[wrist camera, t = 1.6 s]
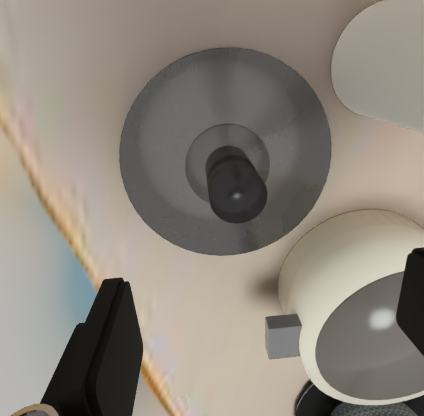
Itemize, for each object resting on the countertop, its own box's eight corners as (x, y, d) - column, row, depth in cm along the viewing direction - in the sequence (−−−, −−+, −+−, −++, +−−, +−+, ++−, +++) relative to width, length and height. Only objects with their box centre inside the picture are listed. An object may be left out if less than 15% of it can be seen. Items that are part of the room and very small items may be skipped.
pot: (251, 220, 25) (272, 273, 19) (472, 199, 26) (568, 243, 19) (255, 345, 31) (272, 419, 25) (435, 326, 32) (499, 394, 25)
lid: (102, 58, 20) (60, 54, 14) (333, 39, 21) (398, 27, 14) (141, 256, 27) (125, 317, 20) (318, 238, 27) (358, 293, 20)
